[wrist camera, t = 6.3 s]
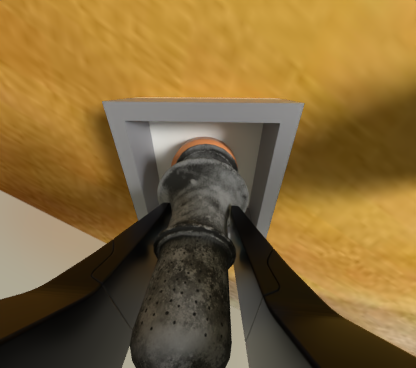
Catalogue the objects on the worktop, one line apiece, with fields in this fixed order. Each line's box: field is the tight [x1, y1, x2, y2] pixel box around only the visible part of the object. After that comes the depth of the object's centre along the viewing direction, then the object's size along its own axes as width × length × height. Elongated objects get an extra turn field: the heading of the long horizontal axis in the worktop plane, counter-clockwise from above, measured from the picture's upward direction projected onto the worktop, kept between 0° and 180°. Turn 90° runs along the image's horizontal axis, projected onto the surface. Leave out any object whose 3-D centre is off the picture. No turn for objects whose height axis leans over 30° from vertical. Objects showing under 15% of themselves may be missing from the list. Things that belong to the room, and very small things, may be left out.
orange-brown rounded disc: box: [171, 137, 237, 167], centre depth 14 cm, size 6×6×1 cm
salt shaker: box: [130, 144, 249, 368], centre depth 8 cm, size 6×6×12 cm
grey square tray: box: [102, 97, 304, 239], centre depth 13 cm, size 11×11×4 cm
